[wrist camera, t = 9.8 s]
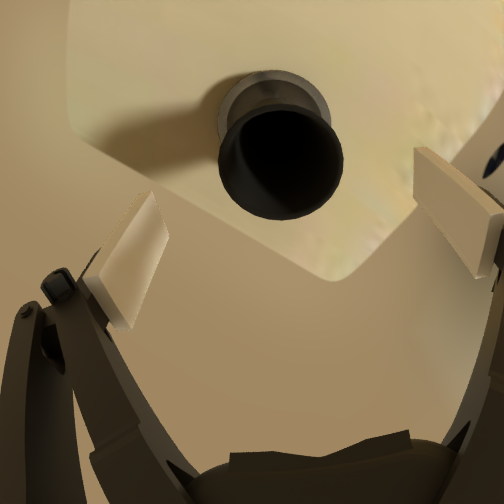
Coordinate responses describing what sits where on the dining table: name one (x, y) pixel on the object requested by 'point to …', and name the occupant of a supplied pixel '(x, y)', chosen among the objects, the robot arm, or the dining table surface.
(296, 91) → the grey metal bowl
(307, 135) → the cup
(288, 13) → the dining table surface
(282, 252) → the dining table surface
